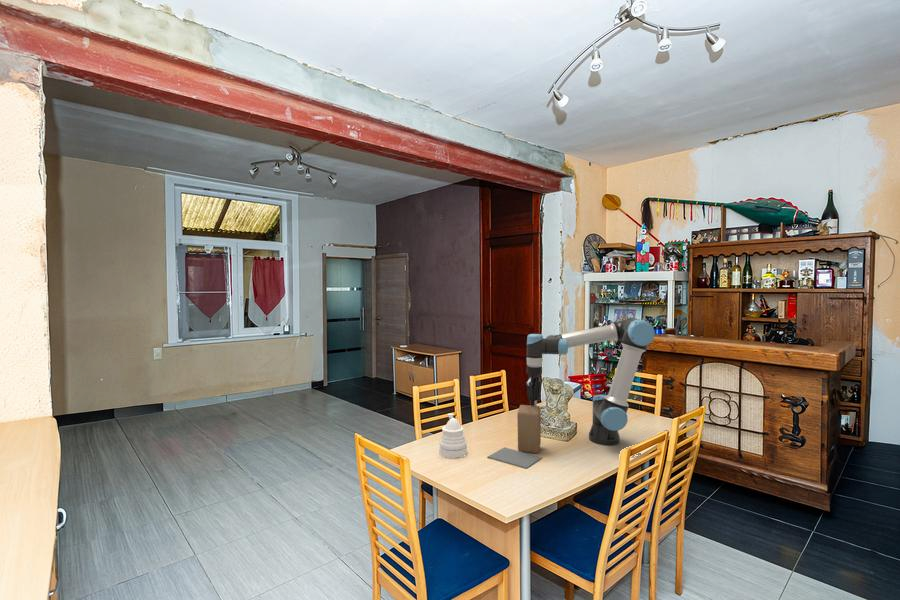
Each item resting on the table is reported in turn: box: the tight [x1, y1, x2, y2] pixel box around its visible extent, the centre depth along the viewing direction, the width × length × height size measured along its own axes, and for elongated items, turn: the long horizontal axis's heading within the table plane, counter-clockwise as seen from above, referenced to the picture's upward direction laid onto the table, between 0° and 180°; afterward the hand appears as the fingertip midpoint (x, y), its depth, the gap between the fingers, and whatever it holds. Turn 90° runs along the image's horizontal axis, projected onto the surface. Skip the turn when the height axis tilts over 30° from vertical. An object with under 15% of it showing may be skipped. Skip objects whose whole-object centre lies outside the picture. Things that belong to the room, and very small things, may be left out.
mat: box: [487, 447, 543, 470], centre depth 203 cm, size 20×15×1 cm
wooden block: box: [516, 404, 542, 454], centre depth 213 cm, size 10×10×20 cm
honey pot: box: [439, 413, 468, 459], centre depth 209 cm, size 13×13×18 cm
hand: (533, 413), depth 218 cm, fingers closed
